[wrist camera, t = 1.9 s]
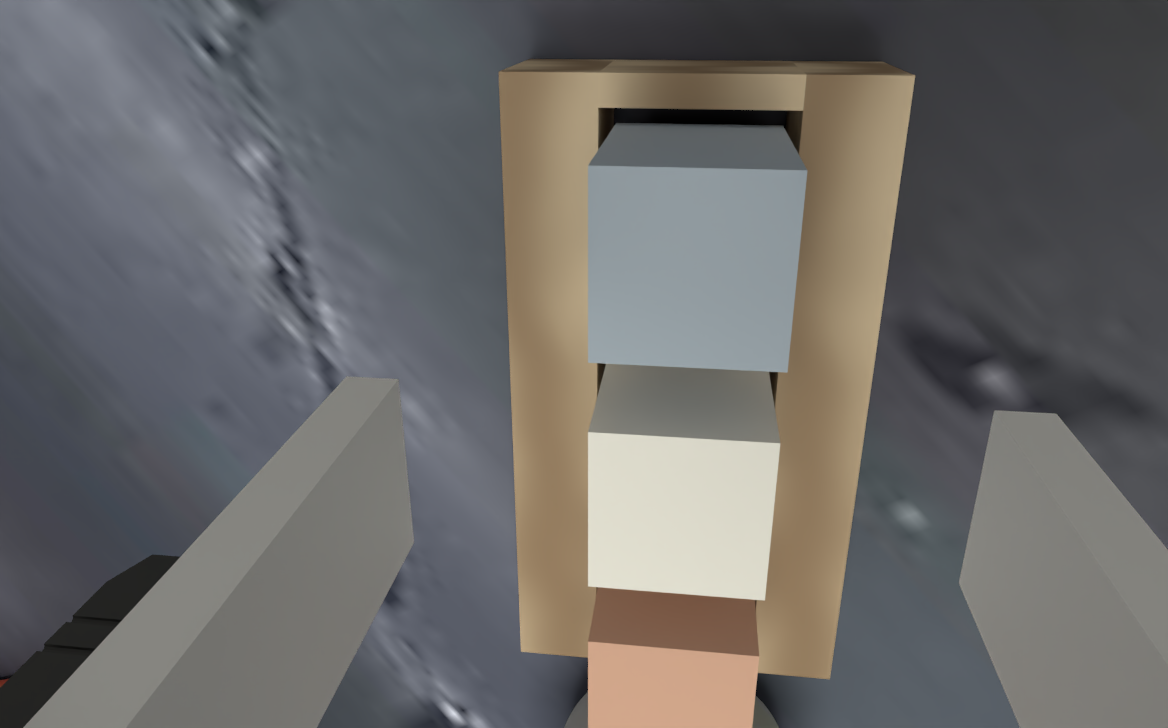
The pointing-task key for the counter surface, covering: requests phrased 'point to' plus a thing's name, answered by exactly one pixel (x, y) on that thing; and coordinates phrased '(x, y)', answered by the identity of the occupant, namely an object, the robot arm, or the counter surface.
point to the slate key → (694, 246)
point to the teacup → (578, 719)
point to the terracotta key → (671, 660)
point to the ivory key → (682, 481)
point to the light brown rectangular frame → (801, 396)
